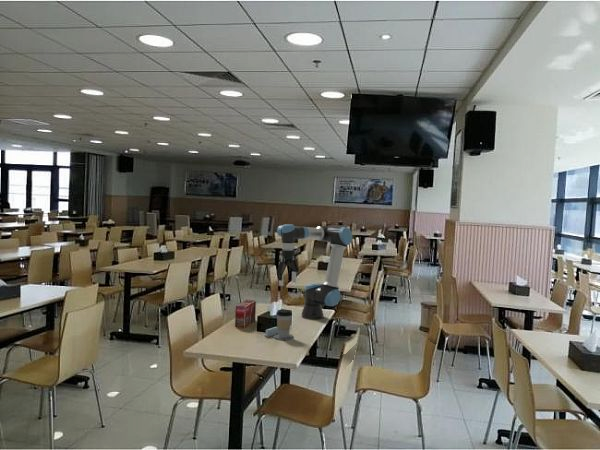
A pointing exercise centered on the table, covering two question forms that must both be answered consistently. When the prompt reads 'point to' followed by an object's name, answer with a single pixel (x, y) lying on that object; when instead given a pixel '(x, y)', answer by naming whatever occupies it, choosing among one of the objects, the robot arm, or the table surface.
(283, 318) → the coffee cup
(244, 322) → the ice cream box
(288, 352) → the table surface
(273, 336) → the coaster
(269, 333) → the grey bar handle
